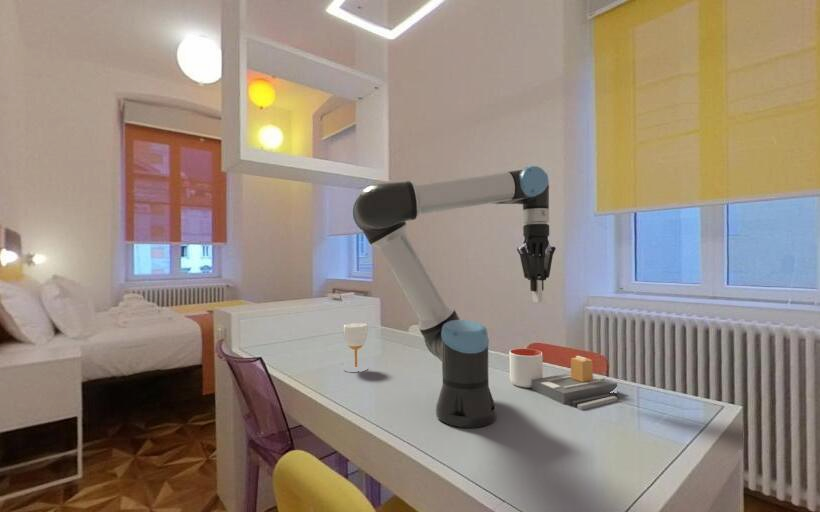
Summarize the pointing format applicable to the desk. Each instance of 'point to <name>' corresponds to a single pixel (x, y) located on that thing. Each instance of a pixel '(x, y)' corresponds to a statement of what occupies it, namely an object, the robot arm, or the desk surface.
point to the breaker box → (571, 387)
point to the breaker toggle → (581, 369)
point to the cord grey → (596, 402)
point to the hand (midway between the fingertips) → (537, 301)
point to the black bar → (592, 399)
